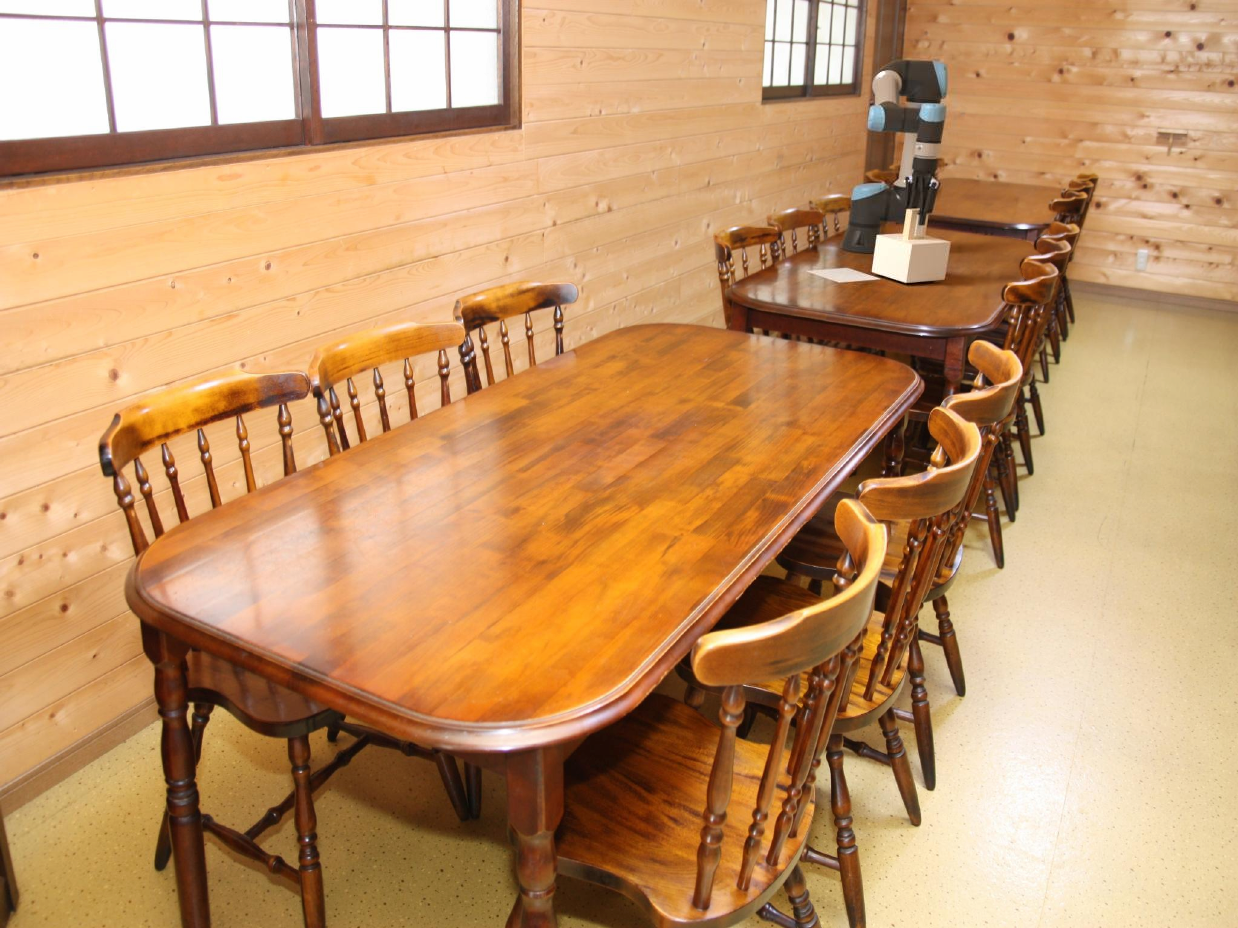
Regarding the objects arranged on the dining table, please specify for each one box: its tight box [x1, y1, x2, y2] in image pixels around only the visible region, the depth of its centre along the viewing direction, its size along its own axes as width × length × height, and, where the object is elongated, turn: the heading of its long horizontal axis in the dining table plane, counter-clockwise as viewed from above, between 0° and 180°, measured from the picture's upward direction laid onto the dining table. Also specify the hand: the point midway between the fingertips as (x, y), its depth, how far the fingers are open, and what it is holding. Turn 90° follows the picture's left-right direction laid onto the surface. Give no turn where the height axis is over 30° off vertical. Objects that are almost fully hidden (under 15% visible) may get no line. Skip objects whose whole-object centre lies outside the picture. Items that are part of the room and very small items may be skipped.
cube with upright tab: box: [871, 208, 952, 284], centre depth 324 cm, size 16×16×21 cm
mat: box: [806, 267, 881, 284], centre depth 330 cm, size 17×17×1 cm
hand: (914, 234), depth 323 cm, fingers closed on cube with upright tab, 2 cm apart
